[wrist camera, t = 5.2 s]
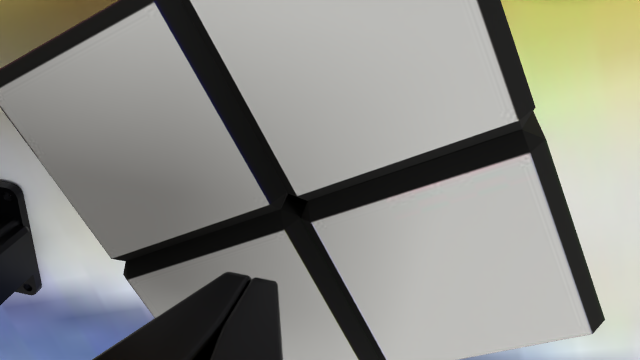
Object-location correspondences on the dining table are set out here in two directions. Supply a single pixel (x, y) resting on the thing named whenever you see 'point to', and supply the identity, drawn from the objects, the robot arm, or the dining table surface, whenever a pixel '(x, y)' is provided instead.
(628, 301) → the dining table surface
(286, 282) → the puzzle cube
